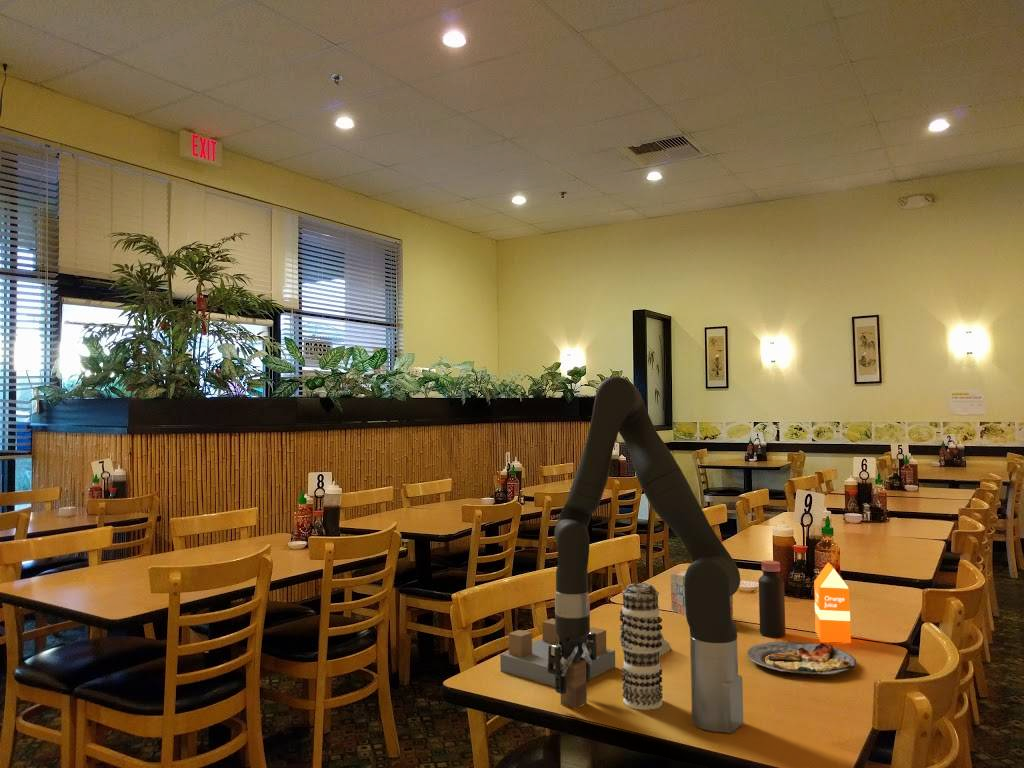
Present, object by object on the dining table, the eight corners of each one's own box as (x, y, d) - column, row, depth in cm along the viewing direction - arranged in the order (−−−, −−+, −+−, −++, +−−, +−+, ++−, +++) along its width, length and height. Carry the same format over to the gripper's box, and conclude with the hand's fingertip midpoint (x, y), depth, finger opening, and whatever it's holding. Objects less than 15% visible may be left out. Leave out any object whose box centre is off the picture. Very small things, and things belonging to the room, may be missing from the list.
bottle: (782, 631, 212) (780, 559, 213) (788, 638, 205) (786, 564, 206) (757, 630, 212) (755, 559, 213) (763, 637, 206) (761, 564, 206)
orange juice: (820, 642, 201) (818, 567, 202) (815, 632, 210) (813, 560, 211) (851, 643, 200) (849, 568, 200) (845, 634, 208) (843, 561, 209)
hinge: (643, 667, 184) (630, 626, 186) (627, 670, 186) (614, 629, 189) (671, 648, 197) (659, 611, 200) (656, 652, 200) (644, 614, 202)
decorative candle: (612, 702, 162) (610, 586, 162) (637, 691, 168) (635, 578, 169) (647, 714, 155) (644, 592, 156) (672, 701, 162) (669, 585, 162)
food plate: (848, 652, 192) (847, 638, 193) (865, 685, 170) (864, 669, 170) (746, 647, 199) (746, 634, 199) (750, 679, 177) (749, 664, 177)
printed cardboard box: (733, 625, 218) (732, 583, 219) (717, 628, 215) (716, 585, 216) (686, 608, 237) (685, 569, 238) (670, 611, 235) (670, 571, 235)
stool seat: (615, 666, 184) (614, 630, 184) (565, 690, 169) (565, 650, 169) (551, 650, 197) (551, 616, 198) (500, 670, 182) (500, 633, 183)
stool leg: (586, 703, 161) (586, 661, 162) (575, 708, 158) (574, 665, 159) (571, 698, 164) (571, 657, 164) (560, 704, 161) (560, 661, 161)
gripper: (565, 622, 154) (566, 701, 154) (605, 608, 165) (606, 682, 164) (538, 615, 159) (538, 692, 159) (578, 602, 170) (579, 674, 170)
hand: (573, 687), depth 162 cm, fingers open, 8 cm apart
